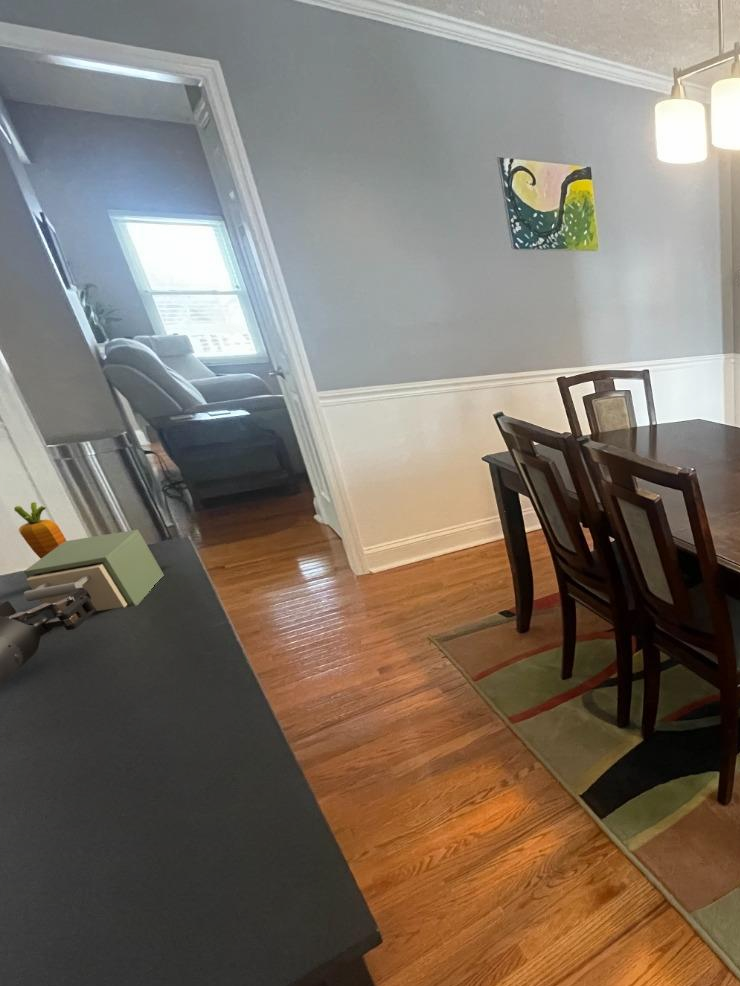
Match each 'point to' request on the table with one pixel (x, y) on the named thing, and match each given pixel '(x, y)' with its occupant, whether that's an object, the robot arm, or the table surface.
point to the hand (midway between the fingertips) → (46, 599)
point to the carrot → (39, 531)
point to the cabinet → (108, 561)
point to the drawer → (76, 586)
